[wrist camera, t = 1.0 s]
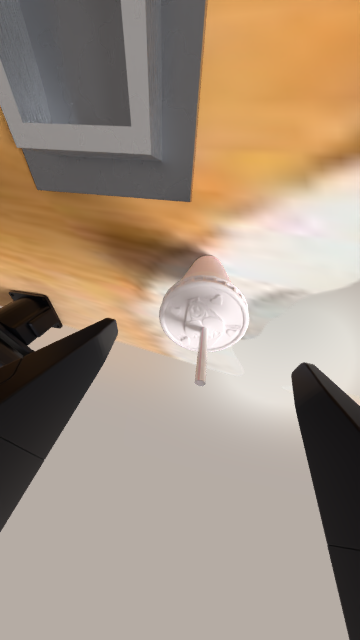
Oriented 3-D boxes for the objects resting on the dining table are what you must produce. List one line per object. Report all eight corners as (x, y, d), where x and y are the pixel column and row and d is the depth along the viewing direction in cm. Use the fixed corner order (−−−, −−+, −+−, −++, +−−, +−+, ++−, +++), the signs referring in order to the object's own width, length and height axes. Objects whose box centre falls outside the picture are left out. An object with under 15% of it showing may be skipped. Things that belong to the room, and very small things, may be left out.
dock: (45, 189, 17) (7, 189, 14) (-107, -237, 7) (-343, -554, 4) (191, 201, 15) (185, 203, 12) (232, -309, 6) (252, -865, 3)
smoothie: (190, 300, 22) (166, 408, 11) (171, 254, 19) (110, 341, 8) (240, 288, 20) (272, 407, 9) (229, 232, 16) (258, 312, 5)
